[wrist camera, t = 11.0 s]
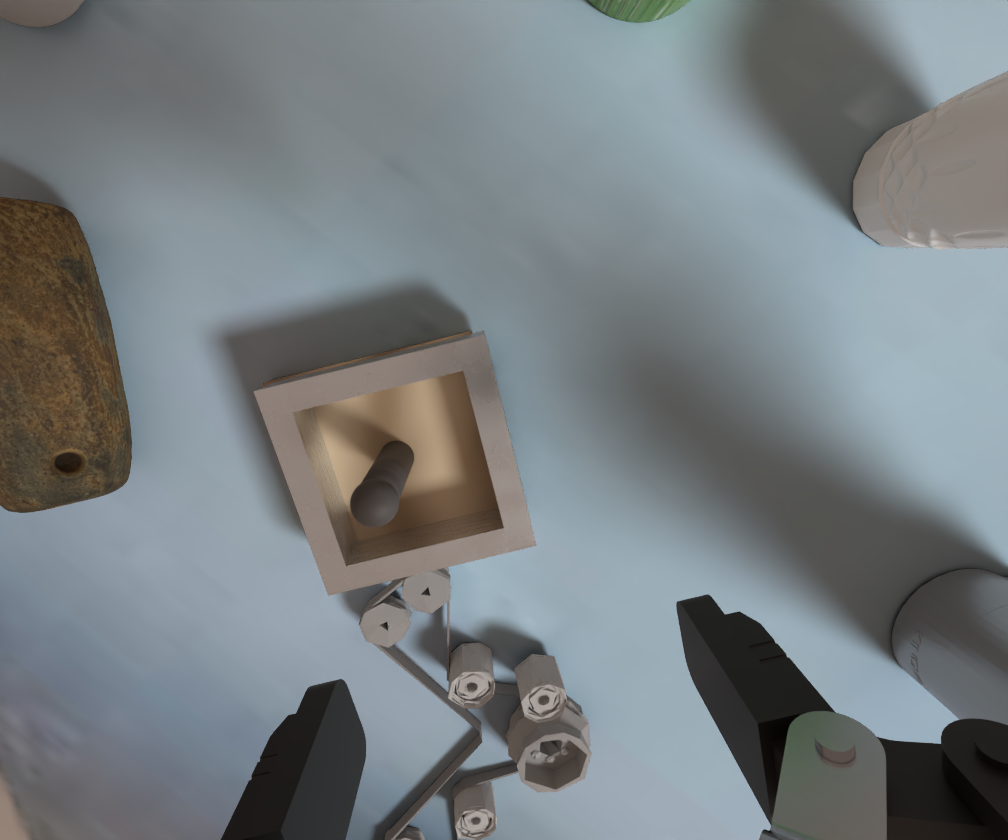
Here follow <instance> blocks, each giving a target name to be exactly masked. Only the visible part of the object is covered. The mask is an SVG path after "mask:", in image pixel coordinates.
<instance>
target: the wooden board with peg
mask: <svg viewBox="0 0 1008 840" xmlns="http://www.w3.org/2000/svg"><path fill="white" fill-rule="evenodd" d="M471 333H472V332H471V331H469V332H464V333H460V334H456V335H452V336H448V337H444V338H440V339H436V340H432V341H428V342H424V343H420V344H416V345H412V346H407V347H403V348H399V349H395V350H391V351H387V352H383V353H379V354H375V355H371V356H367V357H363V358H359V359H354V360H350V361H346V362H342V363H338V364H334V365H330V366H326V367H322V368H318V369H314V370H310V371H306V372H301V373H297V374H293V375H289V376H285V377H281V378H277V379H273V380H270V381H268V382H265V383H263V385H264V386H267V385H269V384H271V383H273V382H276V381H279V380H283V379H287V378H292V377H296V376H300V375H304V374H308V373H312V372H316V371H320V370H324V369H328V368H332V367H336V366H341V365H345V364H349V363H353V362H357V361H361V360H365V359H369V358H373V357H377V356H381V355H386V354H390V353H394V352H398V351H402V350H406V349H410V348H414V347H418V346H422V345H426V344H431V343H435V342H439V341H443V340H447V339H451V338H455V337H459V336H463V335H467V334H471ZM313 409H314V412H315V415H316V418H317V421H318V424H319V427H320V430H321V433H322V436H323V439H324V442H325V445H326V447H327V450H328V453H329V456H330V459H331V462H332V465H333V468H334V471H335V474H336V477H337V480H338V483H339V486H340V489H341V492H342V495H343V498H344V501H345V503H346V506H347V509H348V512H349V515H350V518H351V521H352V524H353V527H354V530H355V533H356V536H357V539H358V541H359V540H364V539H368V538H372V537H376V536H380V535H384V534H388V533H393V532H397V531H401V530H405V529H409V528H413V527H417V526H422V525H426V524H430V523H434V522H438V521H442V520H446V519H451V518H455V517H459V516H463V515H467V514H471V513H475V512H480V511H484V510H488V509H492V508H496V507H498V503H497V499H496V495H495V491H494V487H493V484H492V480H491V476H490V472H489V468H488V464H487V460H486V457H485V453H484V449H483V445H482V441H481V437H480V433H479V430H478V426H477V422H476V418H475V414H474V410H473V406H472V403H471V399H470V395H469V391H468V387H467V383H466V379H465V376H464V372H463V371H460V372H456V373H452V374H448V375H443V376H439V377H435V378H431V379H427V380H423V381H419V382H415V383H411V384H407V385H402V386H398V387H394V388H390V389H386V390H382V391H378V392H374V393H370V394H366V395H361V396H357V397H353V398H349V399H345V400H341V401H337V402H333V403H329V404H325V405H320V406H316V407H313Z"/></svg>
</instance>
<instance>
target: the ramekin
mask: <svg viewBox="0 0 1008 840" xmlns="http://www.w3.org/2000/svg"><path fill="white" fill-rule="evenodd" d="M588 1H589V2H590V3H591V4H593V5H594V6H595V7H596V8H597V9H599V10H600V11H602V12H604V13H605V14H607V15H609V16H610V17H613V18H616V19H618V20H623V21H627V22H636V23H640V22H650V21H654V20H658V19H661V18H663V17H665V16H668V15H670V14H672V13H674V12H675V11H677V10H678V9H680V8H681V7H683V6H684V5H685V4H686V3H687V2H689V1H690V0H588Z"/></svg>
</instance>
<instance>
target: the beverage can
mask: <svg viewBox="0 0 1008 840" xmlns="http://www.w3.org/2000/svg"><path fill="white" fill-rule="evenodd" d="M83 1H84V0H0V17H1V18H3V19H5V20H7V21H10V22H12V23H15V24H19V25H23V26H29V27H46V26H51V25H55V24H58V23H60V22H62V21H64V20H66V19H67V18H69V17H70V16H71V15H73V14H74V13H75V12H76V11H77V10H78V8H79V7H80V6H81V4H82V3H83Z"/></svg>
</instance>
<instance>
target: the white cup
mask: <svg viewBox="0 0 1008 840" xmlns="http://www.w3.org/2000/svg"><path fill="white" fill-rule="evenodd" d="M853 211H854V213H855V215H856V217H857V220H858V222H859V224H860V226H861V228H862V231H863V232H864V233H865V234H866V235H868V236H869V237H871V238H872V239H873V240H875V241H876V242H878V243H879V244H880V245H882V246H884V247H895V248H906V249H915V248H932V249H987V248H1008V71H1007V72H1004V73H1002V74H1000V75H998V76H996V77H994V78H992V79H989V80H987V81H985V82H983V83H981V84H979V85H976V86H974V87H972V88H970V89H968V90H966V91H964V92H962V93H960V94H958V95H956V96H954V97H952V98H951V99H949V100H947V101H945V102H942V103H940V104H939V105H937V106H936V107H934V108H933V109H931V110H930V111H928V112H926V113H924V114H922V115H920V116H918V117H916V118H914V119H912V120H909V121H907V122H905V123H903V124H900V125H898V126H896V127H894V128H892V129H889V130H888V131H886V132H885V133H884V134H883V135H882V136H881V137H880V138H879V139H878V140H877V141H876V142H875V143H874V144H873V145H872V146H871V147H870V148H869V149H868V150H867V152H866V153H865V154H864V157H863V159H862V161H861V164H860V166H859V168H858V171H857V173H856V175H855V178H854V180H853Z"/></svg>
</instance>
